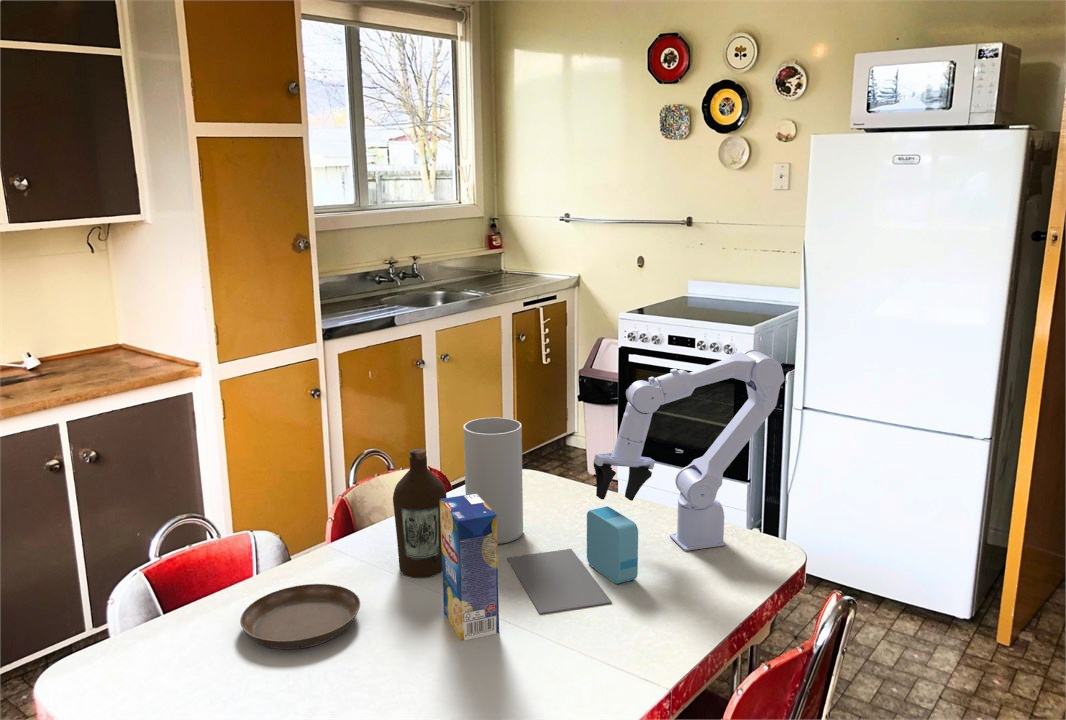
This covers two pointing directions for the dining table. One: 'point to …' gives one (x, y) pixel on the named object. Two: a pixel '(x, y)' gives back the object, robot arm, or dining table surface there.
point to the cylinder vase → (496, 471)
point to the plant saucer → (300, 615)
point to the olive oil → (419, 518)
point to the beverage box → (469, 566)
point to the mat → (557, 581)
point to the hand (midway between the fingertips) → (614, 498)
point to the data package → (612, 544)
